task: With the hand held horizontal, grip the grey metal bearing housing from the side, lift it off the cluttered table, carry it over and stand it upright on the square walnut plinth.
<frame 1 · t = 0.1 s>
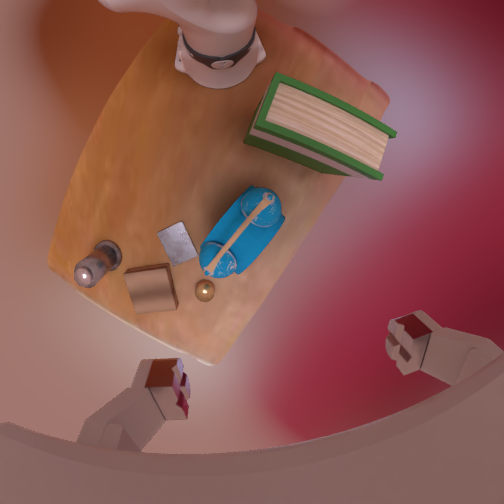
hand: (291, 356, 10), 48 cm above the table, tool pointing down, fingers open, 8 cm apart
stand: (152, 286, 59), on the table
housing: (108, 255, 56), on the table
steel plate: (178, 242, 57), on the table
brass knob: (205, 287, 60), on the table
alarm clock: (241, 221, 57), on the table
hardback book: (290, 141, 53), on the table
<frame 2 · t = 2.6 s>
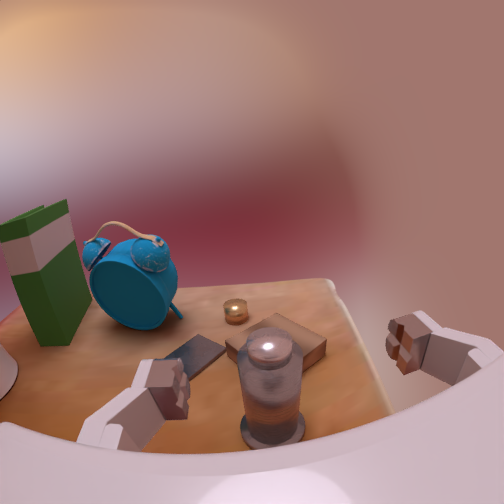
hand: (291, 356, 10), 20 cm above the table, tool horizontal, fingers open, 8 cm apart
stand: (276, 356, 37), on the table
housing: (272, 429, 25), on the table
steel plate: (195, 360, 38), on the table
brass knob: (236, 318, 47), on the table
alarm clock: (146, 324, 47), on the table
hardback book: (68, 322, 47), on the table
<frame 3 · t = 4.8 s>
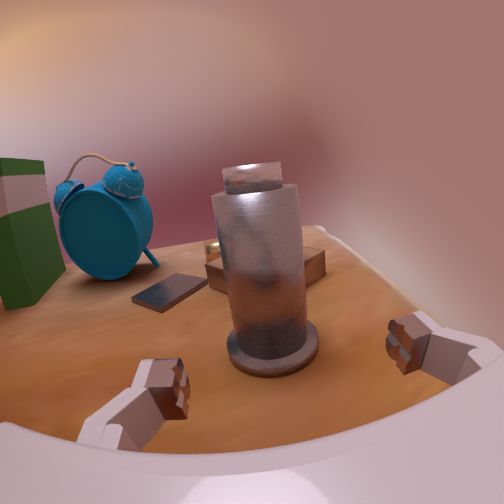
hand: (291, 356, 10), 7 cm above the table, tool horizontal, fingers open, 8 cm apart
stand: (267, 280, 33), on the table
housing: (273, 347, 21), on the table
steel plate: (171, 296, 33), on the table
brass knob: (219, 259, 42), on the table
alarm clock: (119, 276, 41), on the table
hardback book: (38, 289, 40), on the table
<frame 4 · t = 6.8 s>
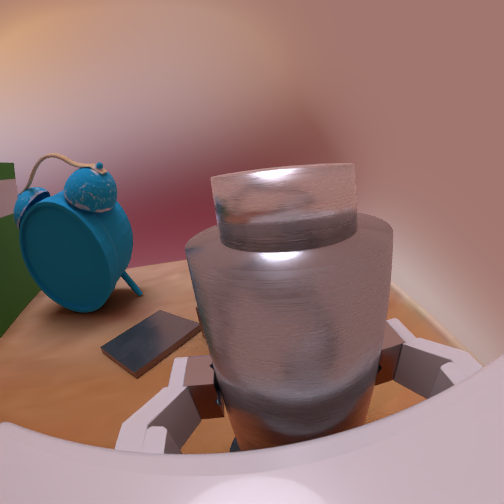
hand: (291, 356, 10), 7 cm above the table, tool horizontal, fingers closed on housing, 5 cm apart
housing: (299, 459, 11), on the table, touching gripper
steel plate: (152, 346, 23), on the table
alarm clock: (94, 306, 31), on the table
hardback book: (9, 313, 30), on the table
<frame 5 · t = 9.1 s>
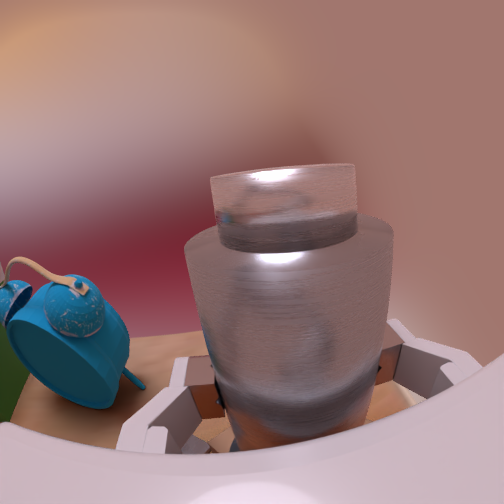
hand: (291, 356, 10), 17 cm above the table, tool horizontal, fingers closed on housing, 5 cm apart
stand: (292, 453, 19), on the table
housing: (298, 460, 11), point 10 cm above the table, touching gripper
steel plate: (166, 462, 19), on the table
alarm clock: (97, 396, 27), on the table
hardback book: (11, 386, 26), on the table
when the fingers open (11 cm above the table, at t = 10.9 s): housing drops 1 cm, resting on stand.
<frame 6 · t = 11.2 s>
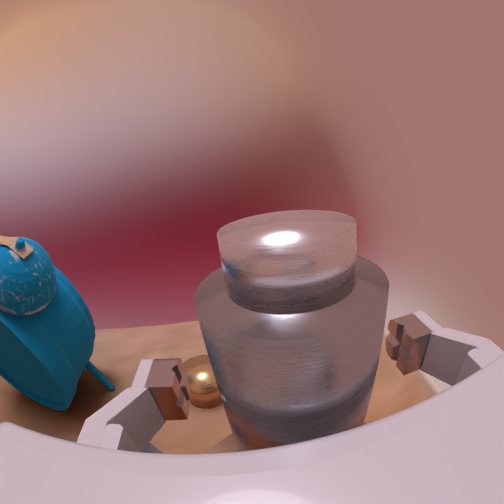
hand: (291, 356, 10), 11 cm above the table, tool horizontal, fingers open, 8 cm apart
stand: (298, 485, 12), on the table
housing: (298, 469, 11), point 3 cm above the table, touching stand
brass knob: (208, 392, 22), on the table
alarm clock: (61, 395, 21), on the table
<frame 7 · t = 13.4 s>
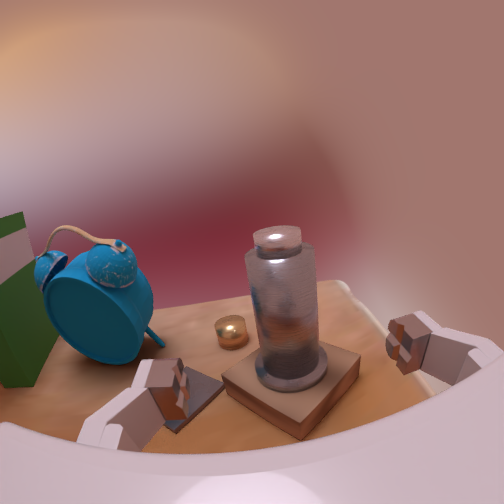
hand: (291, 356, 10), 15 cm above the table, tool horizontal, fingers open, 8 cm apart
stand: (293, 387, 26), on the table
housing: (291, 367, 25), point 3 cm above the table, touching stand
steel plate: (183, 402, 26), on the table
brass knob: (233, 341, 36), on the table
alarm clock: (121, 356, 34), on the table
hardback book: (34, 357, 33), on the table
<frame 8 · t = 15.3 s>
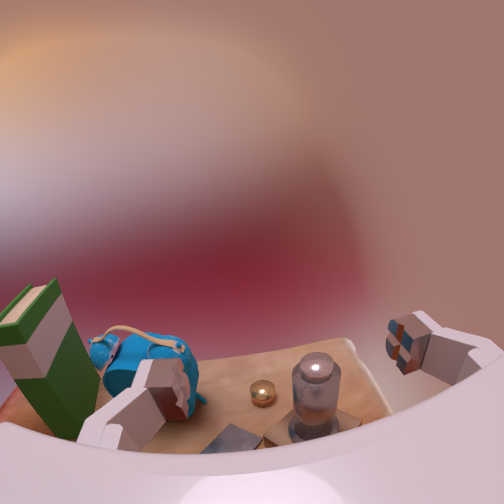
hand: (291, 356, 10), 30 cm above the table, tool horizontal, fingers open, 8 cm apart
stand: (313, 439, 32), on the table
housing: (313, 430, 31), point 3 cm above the table, touching stand
steel plate: (231, 451, 32), on the table
brass knob: (263, 399, 42), on the table
alarm clock: (168, 411, 40), on the table
hardback book: (80, 407, 39), on the table
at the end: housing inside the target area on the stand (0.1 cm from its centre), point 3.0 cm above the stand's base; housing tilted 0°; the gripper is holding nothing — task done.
